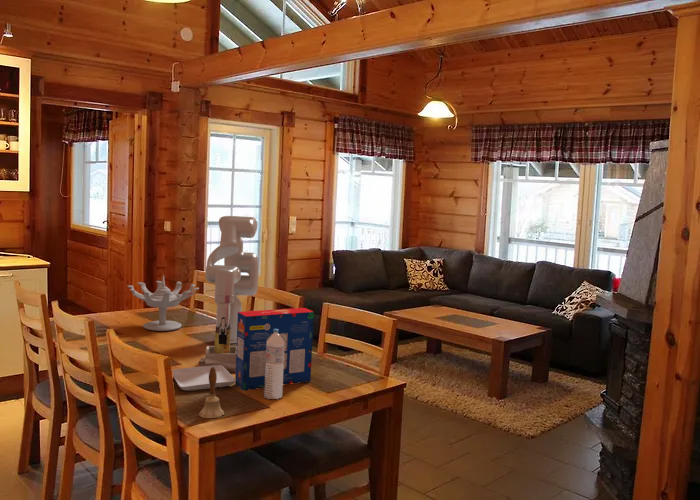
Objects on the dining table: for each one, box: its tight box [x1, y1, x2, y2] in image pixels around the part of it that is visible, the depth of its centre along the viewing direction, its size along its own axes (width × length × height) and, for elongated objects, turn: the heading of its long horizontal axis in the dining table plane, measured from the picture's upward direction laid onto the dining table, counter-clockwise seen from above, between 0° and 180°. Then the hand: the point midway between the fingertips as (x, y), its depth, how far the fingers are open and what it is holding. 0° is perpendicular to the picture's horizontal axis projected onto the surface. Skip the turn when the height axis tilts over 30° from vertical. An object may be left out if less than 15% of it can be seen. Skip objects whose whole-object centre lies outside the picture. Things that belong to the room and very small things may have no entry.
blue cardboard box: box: [234, 307, 315, 391], centre depth 244 cm, size 28×8×28 cm, turn 121°
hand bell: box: [198, 367, 225, 419], centre depth 210 cm, size 8×8×16 cm
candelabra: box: [127, 274, 200, 332], centre depth 320 cm, size 34×35×27 cm
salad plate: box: [171, 365, 236, 391], centre depth 242 cm, size 21×21×3 cm
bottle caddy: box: [198, 345, 237, 374], centre depth 263 cm, size 18×18×7 cm
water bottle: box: [263, 329, 285, 400], centre depth 229 cm, size 7×7×25 cm
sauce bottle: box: [214, 324, 231, 353], centre depth 261 cm, size 7×6×20 cm
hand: (222, 341), depth 262 cm, fingers closed on sauce bottle, 6 cm apart
